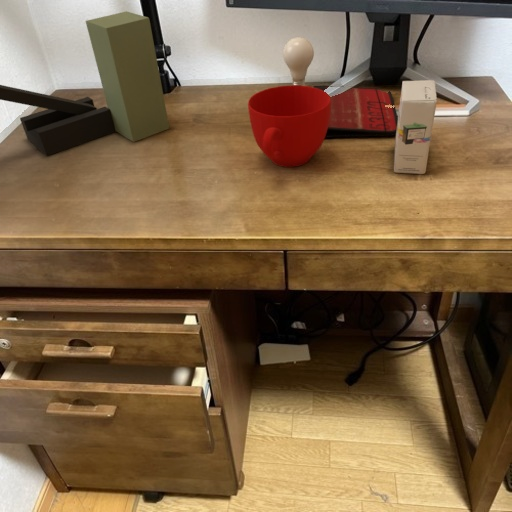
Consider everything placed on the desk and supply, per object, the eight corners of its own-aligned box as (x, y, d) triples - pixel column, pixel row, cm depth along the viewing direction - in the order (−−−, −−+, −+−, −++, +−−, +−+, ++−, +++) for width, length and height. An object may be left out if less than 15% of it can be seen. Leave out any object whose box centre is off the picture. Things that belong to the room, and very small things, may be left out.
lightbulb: (318, 88, 108) (319, 34, 101) (304, 98, 104) (304, 43, 97) (293, 84, 110) (292, 32, 104) (278, 94, 106) (276, 40, 100)
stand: (113, 130, 97) (85, 20, 85) (148, 117, 101) (126, 11, 89) (133, 142, 92) (106, 28, 80) (169, 128, 96) (149, 17, 84)
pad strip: (-51, 86, 81) (-49, 74, 80) (88, 114, 98) (90, 104, 97) (-46, 90, 79) (-44, 78, 78) (94, 118, 96) (96, 107, 95)
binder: (309, 126, 87) (312, 84, 103) (309, 138, 88) (311, 95, 105) (402, 128, 85) (390, 85, 102) (400, 141, 87) (388, 96, 103)
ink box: (393, 148, 84) (401, 78, 76) (424, 149, 83) (435, 79, 75) (392, 173, 77) (401, 99, 70) (425, 174, 76) (438, 100, 69)
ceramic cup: (230, 183, 78) (224, 123, 72) (268, 137, 90) (265, 82, 84) (309, 194, 74) (309, 132, 68) (337, 145, 86) (339, 88, 80)
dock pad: (27, 139, 96) (19, 117, 93) (93, 117, 103) (87, 96, 100) (47, 156, 90) (38, 133, 87) (116, 131, 97) (110, 109, 94)
